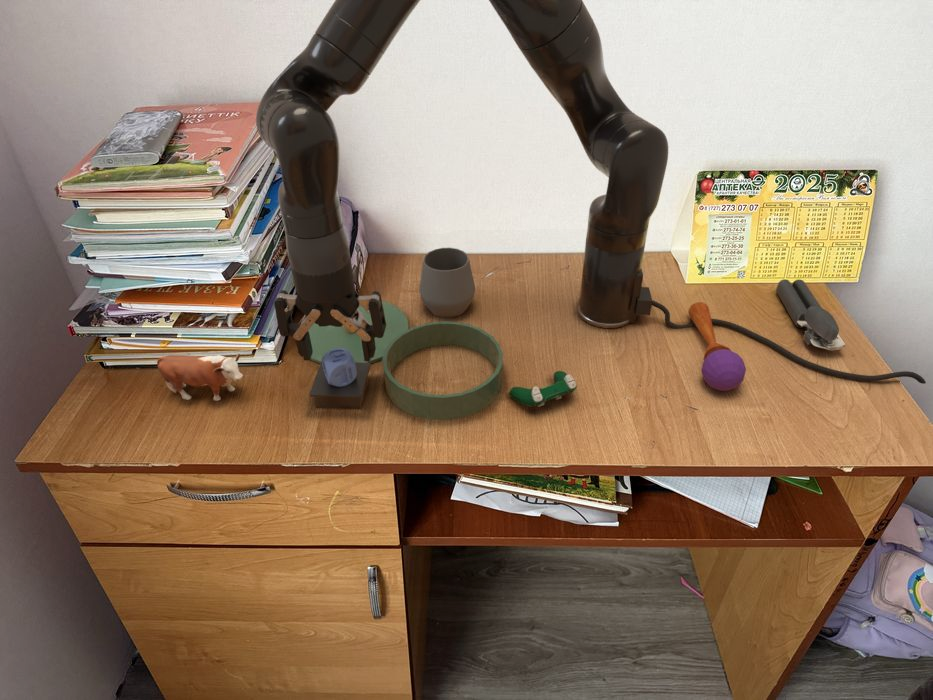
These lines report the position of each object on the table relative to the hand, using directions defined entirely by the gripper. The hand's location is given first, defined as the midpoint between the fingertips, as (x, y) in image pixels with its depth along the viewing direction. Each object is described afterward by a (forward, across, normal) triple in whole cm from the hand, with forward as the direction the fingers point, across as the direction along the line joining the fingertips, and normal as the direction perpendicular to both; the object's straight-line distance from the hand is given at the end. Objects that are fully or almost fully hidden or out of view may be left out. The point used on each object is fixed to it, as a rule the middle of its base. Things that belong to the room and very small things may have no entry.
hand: (338, 357), depth 95 cm
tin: (+8, -14, -4) cm, 17 cm away
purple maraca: (+8, -55, -12) cm, 57 cm away
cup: (+8, -13, -23) cm, 28 cm away
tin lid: (+7, +2, -15) cm, 17 cm away
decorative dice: (+4, 0, 0) cm, 4 cm away
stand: (+7, 0, 0) cm, 7 cm away
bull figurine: (+7, +20, +1) cm, 21 cm away
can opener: (+8, -73, -21) cm, 76 cm away
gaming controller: (+8, -29, -1) cm, 30 cm away
